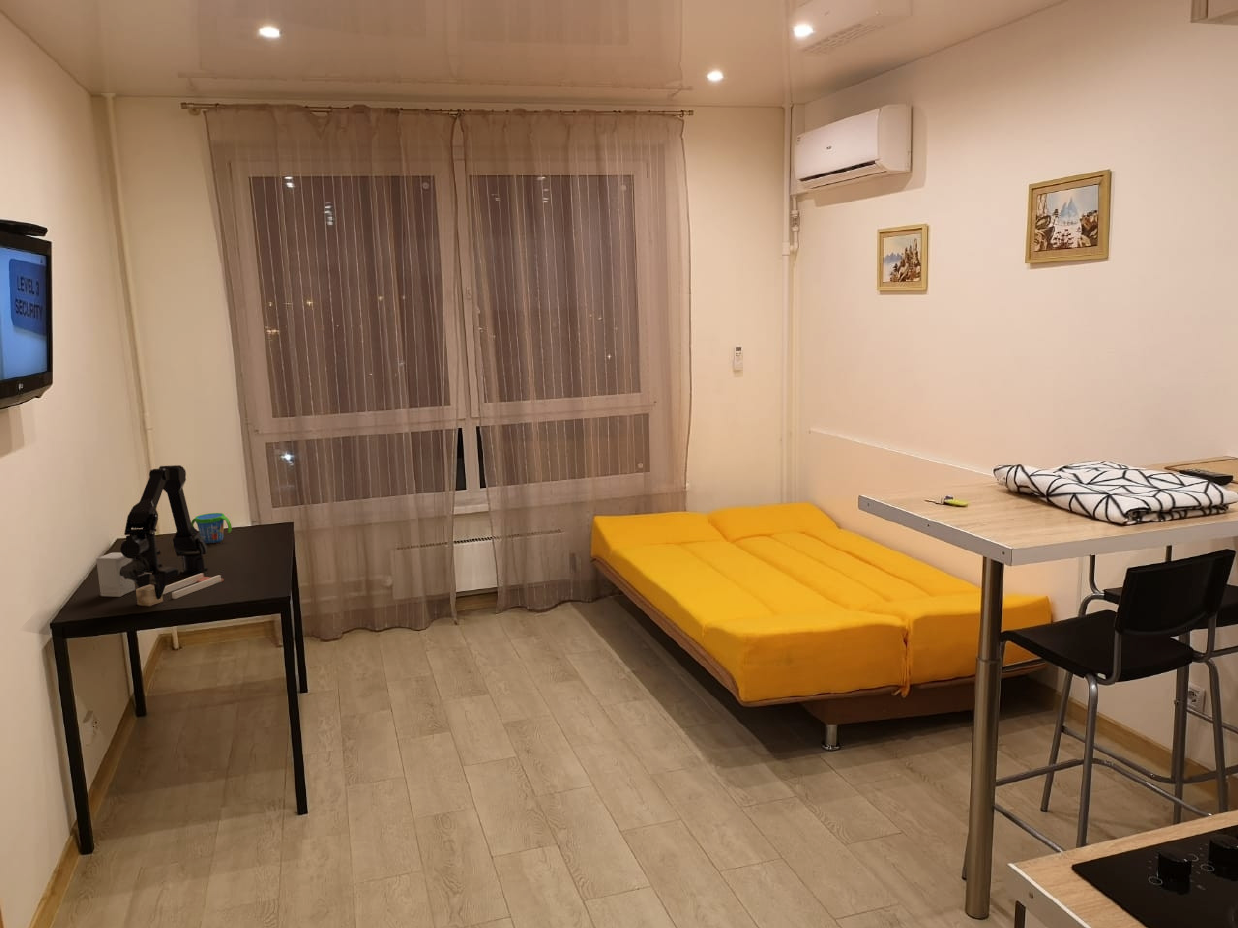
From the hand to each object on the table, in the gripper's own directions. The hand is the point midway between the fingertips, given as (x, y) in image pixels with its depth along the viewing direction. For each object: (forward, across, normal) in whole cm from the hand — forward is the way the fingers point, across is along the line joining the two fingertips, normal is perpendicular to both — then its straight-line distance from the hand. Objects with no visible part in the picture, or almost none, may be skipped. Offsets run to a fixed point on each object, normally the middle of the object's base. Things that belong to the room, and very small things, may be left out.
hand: (152, 598), depth 293 cm
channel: (+1, 0, +15) cm, 15 cm away
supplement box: (+2, -19, +4) cm, 19 cm away
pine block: (+1, 0, -1) cm, 2 cm away
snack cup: (+2, -40, +63) cm, 75 cm away
